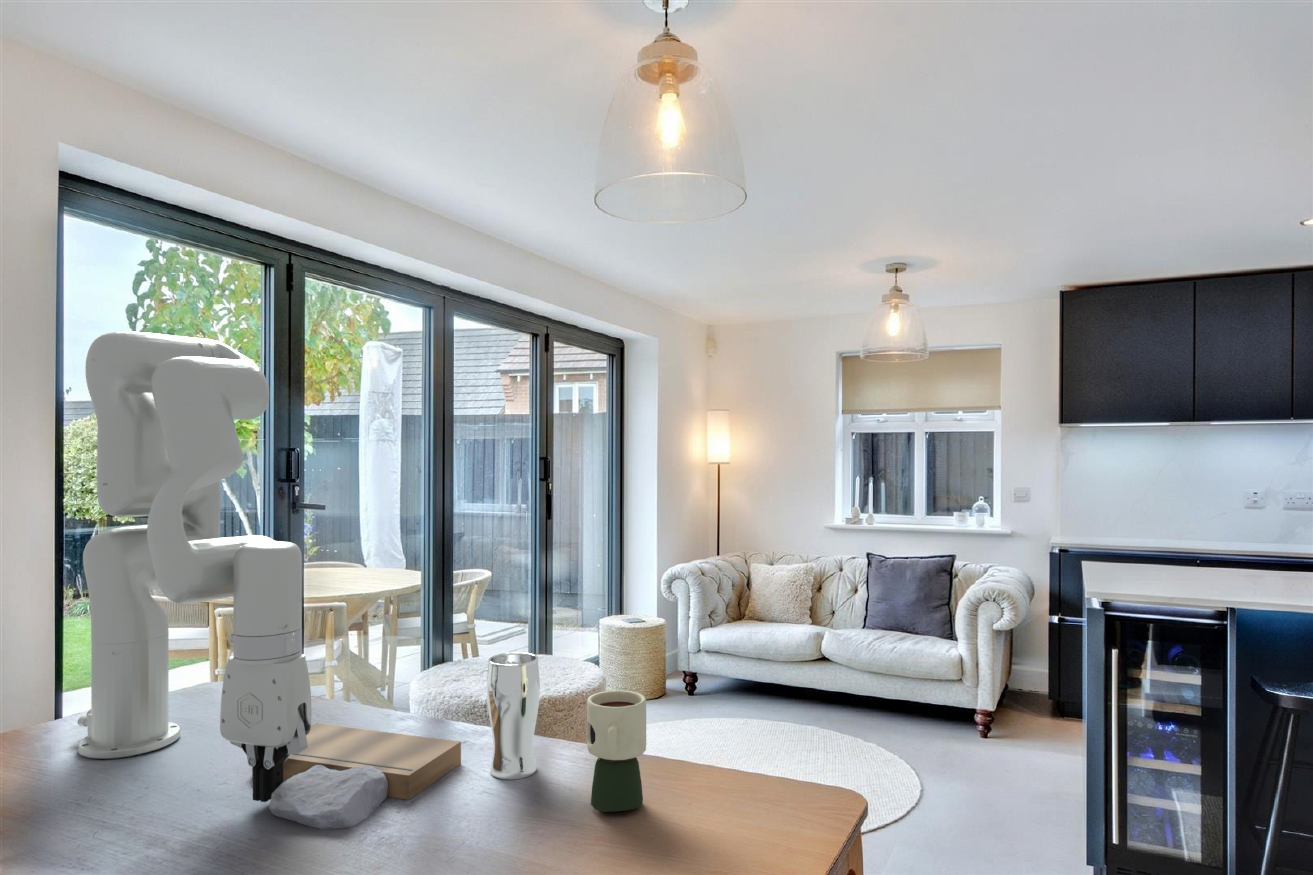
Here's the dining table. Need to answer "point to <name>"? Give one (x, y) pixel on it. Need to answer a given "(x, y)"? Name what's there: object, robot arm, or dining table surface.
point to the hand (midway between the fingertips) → (268, 796)
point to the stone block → (330, 796)
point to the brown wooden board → (378, 756)
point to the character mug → (616, 748)
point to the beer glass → (513, 713)
